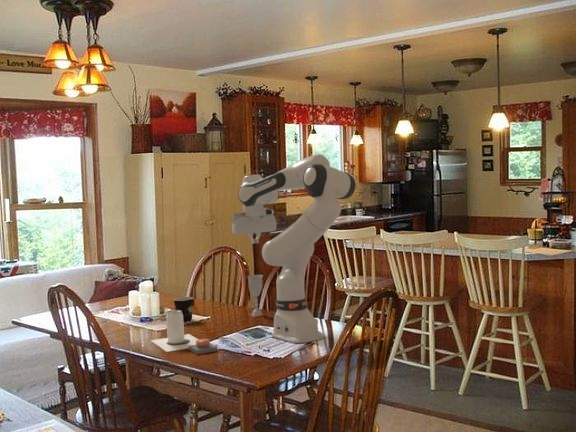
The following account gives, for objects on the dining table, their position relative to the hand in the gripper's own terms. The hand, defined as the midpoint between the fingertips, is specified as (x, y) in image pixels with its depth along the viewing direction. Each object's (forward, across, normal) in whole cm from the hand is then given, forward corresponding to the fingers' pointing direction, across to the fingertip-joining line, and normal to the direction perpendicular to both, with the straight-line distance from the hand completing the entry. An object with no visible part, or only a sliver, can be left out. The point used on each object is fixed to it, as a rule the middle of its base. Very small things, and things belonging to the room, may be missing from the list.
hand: (254, 243), depth 277 cm
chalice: (+34, +4, +10) cm, 36 cm away
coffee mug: (+34, -25, +22) cm, 48 cm away
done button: (+32, -38, -30) cm, 58 cm away
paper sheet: (+34, -42, -14) cm, 56 cm away
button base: (+34, -38, -30) cm, 59 cm away
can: (+34, -43, -14) cm, 56 cm away
